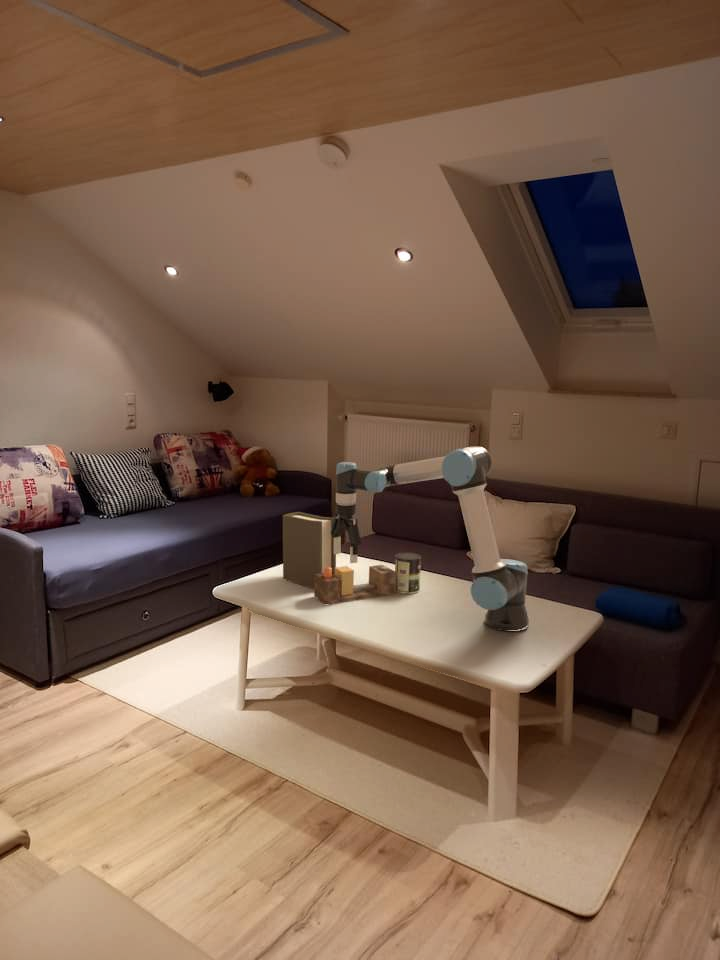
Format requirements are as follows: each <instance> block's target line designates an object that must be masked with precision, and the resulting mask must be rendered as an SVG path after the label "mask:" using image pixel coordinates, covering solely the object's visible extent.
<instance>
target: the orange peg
mask: <svg viewBox="0 0 720 960" xmlns="http://www.w3.org/2000/svg"><path fill="white" fill-rule="evenodd" d="M329 578H332V568H331V567H324V579H329Z"/></svg>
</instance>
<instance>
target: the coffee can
mask: <svg viewBox="0 0 720 960" xmlns="http://www.w3.org/2000/svg"><path fill="white" fill-rule="evenodd" d="M394 558H395V563H394V567H395V568H394V571H395V592H397V593H399V594H403V595H413V594H414V595H415V594H417V593H419V592H420V589H421V588H420V587H421V586H420V585H421V584H420V583H421V565H422V564H421V563H422V556H421V554H419V553H414V552H398V553H396V554H395V557H394Z"/></svg>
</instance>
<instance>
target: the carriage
mask: <svg viewBox="0 0 720 960" xmlns="http://www.w3.org/2000/svg"><path fill="white" fill-rule="evenodd" d="M354 574H355V570H354V569H352V568H351V567H349V566H348V565H344V566H336V567H335V576H336V577H337V578H339V579H340V580H341V588H340V595H341V596H344V595H350V594H353V586H354V582H355V581H354V576H355V575H354Z"/></svg>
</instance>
